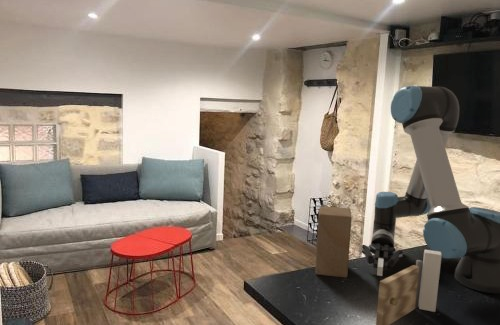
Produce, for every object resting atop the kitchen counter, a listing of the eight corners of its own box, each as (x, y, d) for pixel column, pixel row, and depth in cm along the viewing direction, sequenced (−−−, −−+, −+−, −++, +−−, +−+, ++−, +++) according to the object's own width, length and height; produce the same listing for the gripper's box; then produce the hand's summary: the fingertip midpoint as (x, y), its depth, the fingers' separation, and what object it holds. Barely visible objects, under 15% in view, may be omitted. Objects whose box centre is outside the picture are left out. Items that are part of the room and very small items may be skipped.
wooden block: (347, 278, 125) (351, 216, 121) (315, 274, 127) (318, 214, 123) (346, 265, 134) (350, 208, 131) (316, 262, 136) (319, 205, 133)
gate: (409, 306, 109) (413, 264, 107) (419, 310, 107) (423, 268, 105) (375, 326, 99) (379, 281, 97) (385, 332, 96) (390, 285, 95)
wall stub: (434, 307, 108) (440, 251, 106) (435, 311, 106) (441, 255, 104) (411, 303, 110) (417, 248, 108) (411, 307, 108) (417, 251, 106)
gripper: (401, 257, 136) (402, 287, 114) (362, 251, 140) (355, 279, 118) (403, 236, 134) (405, 262, 112) (363, 230, 139) (357, 255, 117)
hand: (379, 271), depth 115 cm, fingers closed
